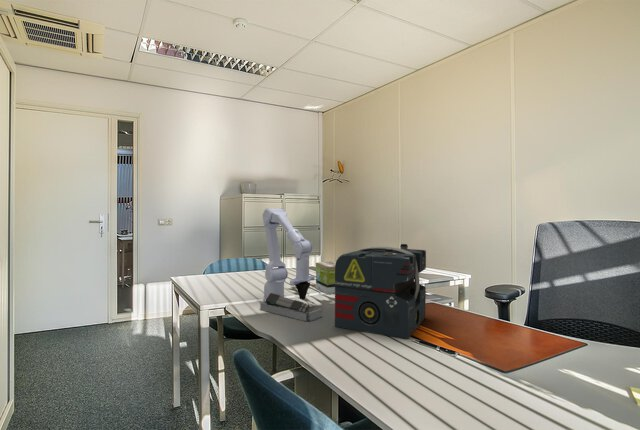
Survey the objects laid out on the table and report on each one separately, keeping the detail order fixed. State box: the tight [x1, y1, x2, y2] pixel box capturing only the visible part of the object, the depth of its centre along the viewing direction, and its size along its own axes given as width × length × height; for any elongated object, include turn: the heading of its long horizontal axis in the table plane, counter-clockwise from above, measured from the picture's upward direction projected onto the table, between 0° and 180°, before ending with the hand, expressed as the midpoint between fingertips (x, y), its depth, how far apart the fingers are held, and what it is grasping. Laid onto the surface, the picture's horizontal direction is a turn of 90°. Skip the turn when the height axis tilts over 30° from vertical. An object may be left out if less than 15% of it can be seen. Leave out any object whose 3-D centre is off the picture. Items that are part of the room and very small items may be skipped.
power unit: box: [334, 243, 427, 340], centre depth 141 cm, size 28×28×30 cm
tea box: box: [315, 261, 336, 295], centre depth 194 cm, size 15×10×15 cm, turn 25°
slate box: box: [259, 300, 323, 322], centre depth 153 cm, size 28×9×3 cm, turn 52°
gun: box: [264, 293, 310, 313], centre depth 154 cm, size 4×20×10 cm
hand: (302, 298), depth 159 cm, fingers closed
